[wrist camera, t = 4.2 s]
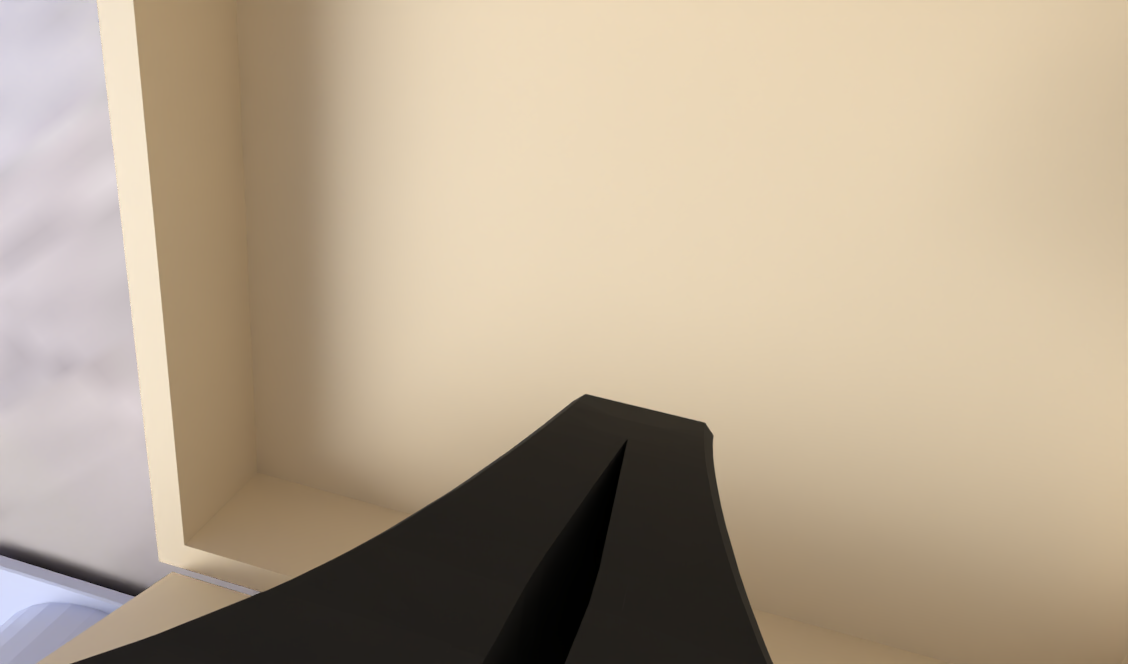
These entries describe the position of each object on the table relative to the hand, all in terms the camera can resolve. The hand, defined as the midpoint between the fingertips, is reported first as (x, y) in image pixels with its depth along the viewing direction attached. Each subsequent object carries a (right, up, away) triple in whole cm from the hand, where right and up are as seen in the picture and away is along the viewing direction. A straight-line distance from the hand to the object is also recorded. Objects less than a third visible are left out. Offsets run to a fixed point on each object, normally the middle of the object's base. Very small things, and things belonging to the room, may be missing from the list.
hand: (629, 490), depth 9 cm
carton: (+2, +3, +6) cm, 7 cm away
